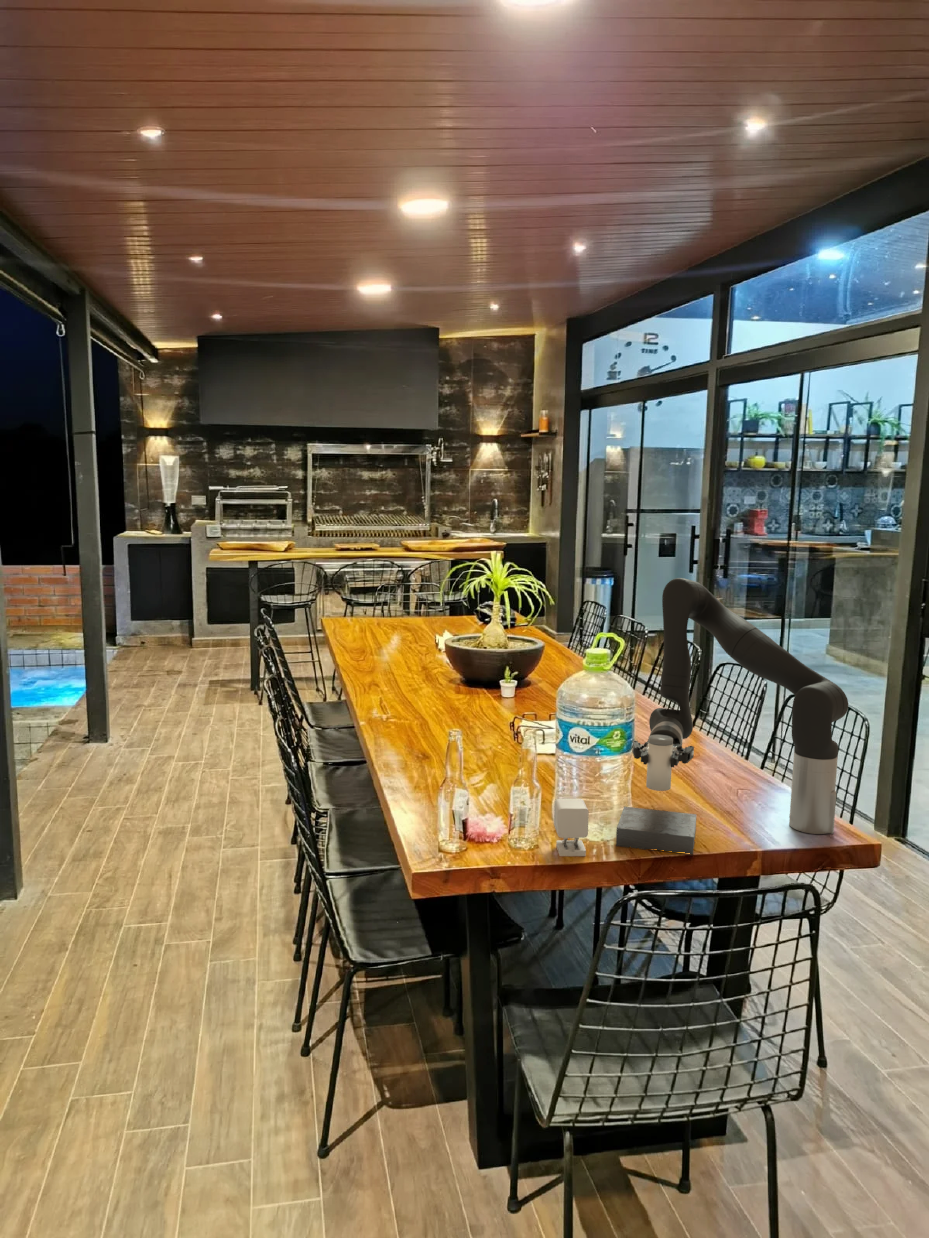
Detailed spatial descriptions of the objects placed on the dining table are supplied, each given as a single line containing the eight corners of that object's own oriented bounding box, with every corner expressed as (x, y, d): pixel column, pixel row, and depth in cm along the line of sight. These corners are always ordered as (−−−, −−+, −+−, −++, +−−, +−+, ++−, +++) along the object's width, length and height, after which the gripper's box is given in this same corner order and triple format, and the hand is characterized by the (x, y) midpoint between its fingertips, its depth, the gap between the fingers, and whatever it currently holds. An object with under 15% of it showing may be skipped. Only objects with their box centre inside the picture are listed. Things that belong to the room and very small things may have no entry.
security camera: (582, 843, 199) (584, 798, 197) (587, 856, 192) (589, 810, 190) (553, 843, 199) (554, 798, 197) (557, 856, 192) (559, 809, 190)
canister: (671, 784, 203) (673, 735, 201) (669, 791, 198) (672, 742, 197) (647, 781, 205) (649, 733, 203) (645, 789, 200) (647, 739, 198)
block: (695, 831, 207) (696, 814, 206) (692, 855, 193) (693, 836, 193) (623, 823, 211) (624, 806, 210) (616, 845, 198) (616, 827, 197)
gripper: (634, 722, 215) (625, 741, 199) (698, 727, 211) (694, 747, 195) (633, 753, 217) (624, 774, 200) (696, 759, 212) (692, 781, 196)
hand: (658, 761), depth 198 cm, fingers closed on canister, 5 cm apart
